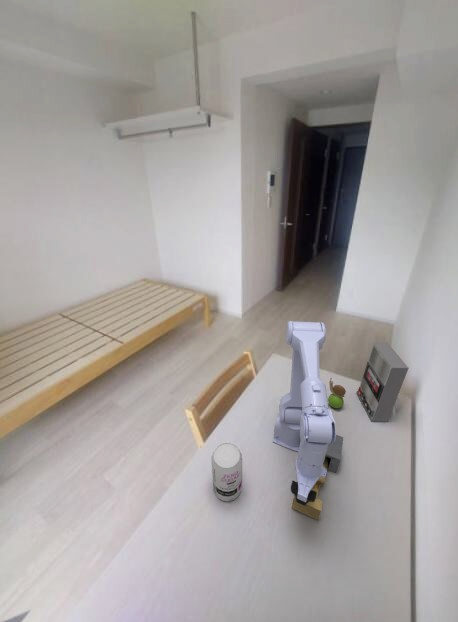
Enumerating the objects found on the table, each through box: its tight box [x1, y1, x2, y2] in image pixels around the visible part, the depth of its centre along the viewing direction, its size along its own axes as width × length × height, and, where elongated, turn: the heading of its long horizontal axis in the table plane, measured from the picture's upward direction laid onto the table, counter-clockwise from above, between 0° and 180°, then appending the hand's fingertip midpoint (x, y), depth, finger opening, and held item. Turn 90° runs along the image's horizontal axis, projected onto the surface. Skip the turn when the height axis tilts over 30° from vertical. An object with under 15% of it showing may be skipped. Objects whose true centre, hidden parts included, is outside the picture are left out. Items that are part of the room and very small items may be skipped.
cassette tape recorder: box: [356, 342, 409, 423], centre depth 96 cm, size 14×6×25 cm, turn 178°
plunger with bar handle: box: [291, 456, 328, 521], centre depth 76 cm, size 7×15×5 cm, turn 155°
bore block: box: [325, 434, 344, 475], centre depth 84 cm, size 10×8×7 cm
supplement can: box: [210, 442, 243, 502], centre depth 74 cm, size 8×8×15 cm
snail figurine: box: [327, 377, 347, 409], centre depth 100 cm, size 5×6×12 cm
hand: (304, 487), depth 68 cm, fingers open, 7 cm apart
